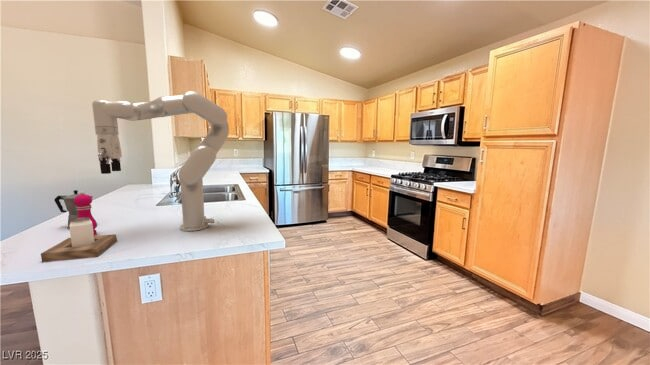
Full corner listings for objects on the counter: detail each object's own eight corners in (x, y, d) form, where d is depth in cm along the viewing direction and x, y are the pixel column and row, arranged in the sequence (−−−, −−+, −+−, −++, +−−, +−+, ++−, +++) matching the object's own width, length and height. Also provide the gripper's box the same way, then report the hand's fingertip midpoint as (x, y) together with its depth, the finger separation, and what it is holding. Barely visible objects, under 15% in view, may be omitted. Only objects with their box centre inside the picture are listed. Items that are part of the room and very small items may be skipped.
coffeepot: (101, 223, 136) (97, 188, 133) (89, 228, 127) (85, 191, 124) (65, 224, 133) (60, 189, 130) (51, 230, 124) (45, 192, 121)
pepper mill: (85, 239, 114) (79, 193, 111) (71, 237, 115) (65, 192, 112) (102, 233, 121) (97, 190, 118) (89, 232, 122) (84, 189, 119)
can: (99, 247, 105) (95, 218, 103) (80, 254, 99) (76, 223, 97) (88, 245, 107) (84, 216, 105) (68, 252, 101) (64, 221, 99)
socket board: (117, 241, 112) (116, 234, 112) (97, 256, 97) (96, 248, 97) (69, 244, 107) (68, 237, 107) (41, 261, 92) (40, 253, 92)
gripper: (108, 130, 104) (112, 174, 107) (126, 132, 121) (129, 170, 123) (84, 130, 102) (90, 174, 105) (106, 131, 118) (110, 170, 121)
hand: (111, 172), depth 114 cm, fingers open, 9 cm apart
